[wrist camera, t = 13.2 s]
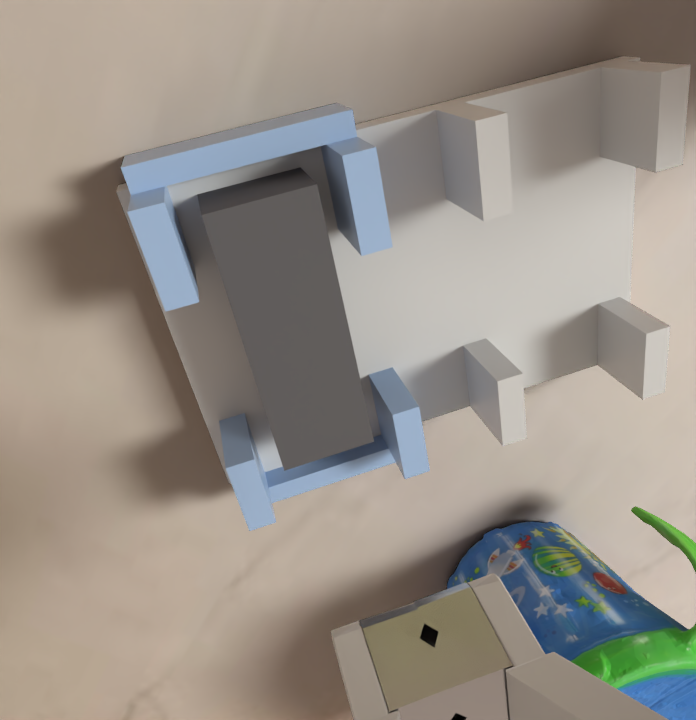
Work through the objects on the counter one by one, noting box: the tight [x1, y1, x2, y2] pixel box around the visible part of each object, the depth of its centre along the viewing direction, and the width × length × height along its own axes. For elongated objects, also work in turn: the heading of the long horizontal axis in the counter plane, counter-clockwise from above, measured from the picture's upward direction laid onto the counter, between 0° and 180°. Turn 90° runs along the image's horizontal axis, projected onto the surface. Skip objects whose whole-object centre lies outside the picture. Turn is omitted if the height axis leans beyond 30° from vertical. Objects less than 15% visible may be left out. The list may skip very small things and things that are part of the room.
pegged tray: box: [116, 56, 691, 531], centre depth 22 cm, size 14×18×4 cm
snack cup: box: [447, 507, 696, 720], centre depth 29 cm, size 16×10×10 cm
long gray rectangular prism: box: [197, 167, 374, 471], centre depth 21 cm, size 10×3×3 cm, turn 11°
